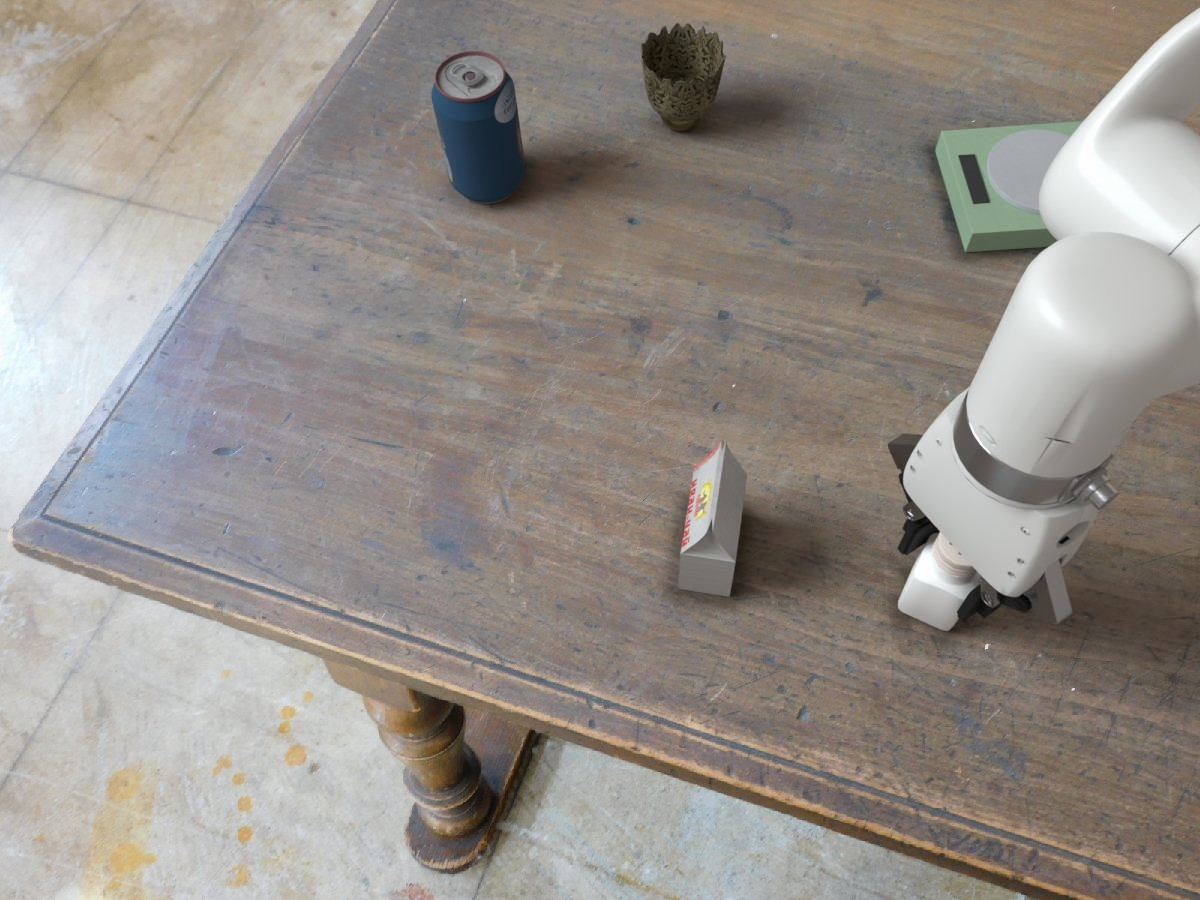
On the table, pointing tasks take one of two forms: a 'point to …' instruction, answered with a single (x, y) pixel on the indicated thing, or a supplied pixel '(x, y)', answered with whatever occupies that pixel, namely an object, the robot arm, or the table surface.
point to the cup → (682, 73)
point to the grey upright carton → (713, 524)
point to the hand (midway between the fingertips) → (946, 572)
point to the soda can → (479, 126)
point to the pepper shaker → (938, 584)
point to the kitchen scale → (1000, 182)
